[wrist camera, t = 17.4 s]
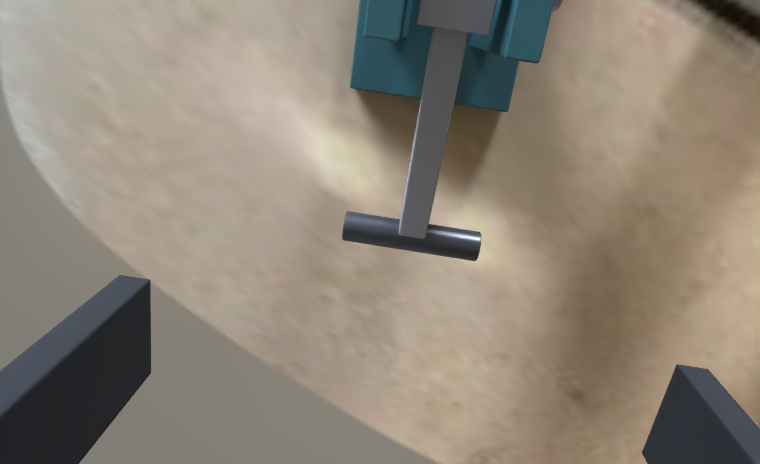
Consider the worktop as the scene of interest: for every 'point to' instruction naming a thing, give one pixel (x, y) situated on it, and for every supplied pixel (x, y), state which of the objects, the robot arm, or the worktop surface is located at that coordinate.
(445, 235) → the lever
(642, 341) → the worktop surface
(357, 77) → the teal lever stand
